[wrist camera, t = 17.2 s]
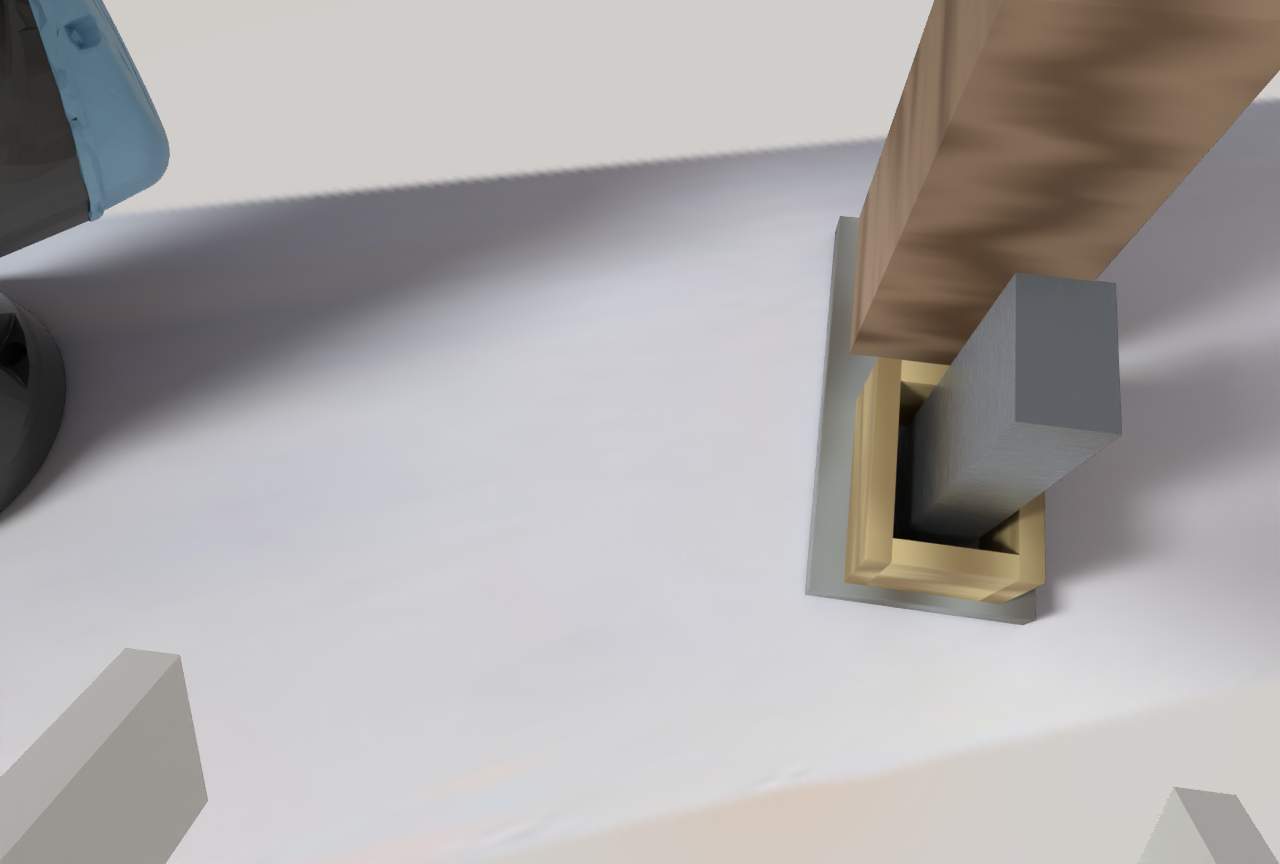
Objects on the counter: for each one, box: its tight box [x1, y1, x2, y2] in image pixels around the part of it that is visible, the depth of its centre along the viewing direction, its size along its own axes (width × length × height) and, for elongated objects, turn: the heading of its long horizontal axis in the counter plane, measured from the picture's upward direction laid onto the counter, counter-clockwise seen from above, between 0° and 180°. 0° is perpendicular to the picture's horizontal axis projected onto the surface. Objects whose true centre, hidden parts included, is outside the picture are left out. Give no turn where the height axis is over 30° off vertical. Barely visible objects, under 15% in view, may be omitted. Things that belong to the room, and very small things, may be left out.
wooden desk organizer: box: [805, 0, 1280, 625], centre depth 34 cm, size 10×20×24 cm, turn 172°
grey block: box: [893, 273, 1122, 548], centre depth 34 cm, size 3×5×16 cm, turn 171°
